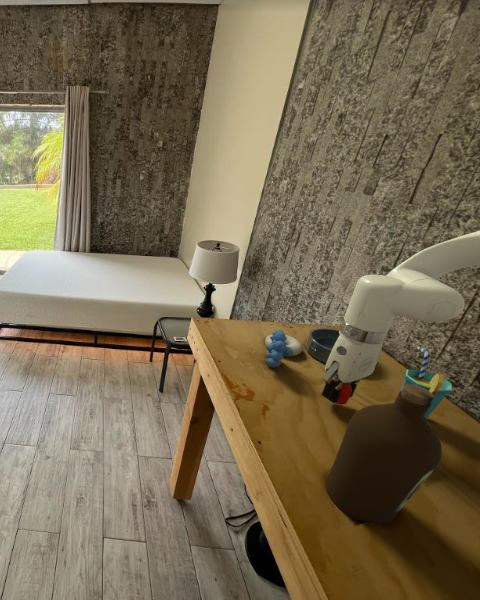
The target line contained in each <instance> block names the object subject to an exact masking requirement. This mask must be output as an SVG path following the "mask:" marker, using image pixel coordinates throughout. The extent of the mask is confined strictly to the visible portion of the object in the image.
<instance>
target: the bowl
mask: <svg viewBox="0 0 480 600" xmlns="http://www.w3.org/2000/svg"><path fill="white" fill-rule="evenodd" d="M339 330H340V329H336V328H328V327H327V328H326V327H323V328H321V327H320V328H315V329H312V330H310V331H309V333H308V335H307V338H306V340H305V344H304V349H305V350H306V351H307V353H308V354H309V355H311V356H312V357H313V358H315V359H316V360H318V361H320V362H322V363H325V364H326V363H327V360H328V358H329V355H330V353H331V351H332V349H333V347H334V345H335V343H336V341H337V339H338V337H339V336H340V334H339Z"/></svg>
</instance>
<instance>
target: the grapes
mask: <svg viewBox="0 0 480 600" xmlns="http://www.w3.org/2000/svg"><path fill="white" fill-rule="evenodd" d="M272 334H273V335H272ZM271 335H272V336H271V337H270V339H271V340H272V343H270V344H269V345H268V346H266V345H265V347H266V350H267V353H266V354H265V357H266V360H265V363H266V365H267V366H268V367H269V368H277V367H279V366H281V362H280V361H282V360H283V359H284V357H291V356H290V355H292V354H293V351H292V349H291V348H290V347H288V346H286V344H285V342H284V341H285V340H286V339H287V338H286V336H285V335H286V333H285V332H284V331H283V330H282V329H277V330H275V331H273V332H272V333H271Z"/></svg>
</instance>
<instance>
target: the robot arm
mask: <svg viewBox="0 0 480 600" xmlns="http://www.w3.org/2000/svg"><path fill="white" fill-rule="evenodd" d="M475 266H480V230H477V231H475V232H471V233H467V234H464V235H459V236H457V237H454V238H452V239H449V240H448V239H447V240H445V241H442V242H439V243H436V244H434V245H431V246H429V247H426V248H424V249H422V250H421V251H418V252H417V253H415V254H413V255H412V256H410V257H408V258H407V259H406V260H404V261H403V262H401V263H400V264H398V265H397V266H396V267H394V268H392V269H391V270H390V271H389V272H388V273H387V274H386V275H382V274H365V275H363V276H361V277H359V278H358V280H357V281H356V284H355V287H354V289H353V292H352V295H351V297H350V301H349V303H348V306H347V309H346V310H345V314H344V317H343V319H342V322H341V325H340V327H339V329H338V330H339V334H340V336H339V337H338V339H337V341H336V343H335V345H334V347H333V349H332V351H331V353H330V355H329V358H328V360H327V363H325V367H324V372H325V373H324V374H323V375H322V377H321V380H322V381H324V386H323V388H322V389H323V390H322V392H321V396H322V397H323V398H325V399H327V400H328V401H329V402H331V403H333V404H336V403H337V401H338V398H339V396H340V393H341V391H342V390H341V389H340V388H341V386H342V384H343V383H349V382H352V383H351V387H352V392H351V394H350V397H349V399H350V398H352V397H353V395H354V393H355V391H356V388H357V386H358V384H359V383H360V381H361V379H364V378H366V377H368V376H370V375H372V374H373V373H374V371H375V368H376V366H377V363H378V361H379V358H380V355H381V352H382V349H383V344H384V343H385V340H386V337H387V335H388V333H389V330H390V329H391V326H392V324H393V322H394V319H395V317H403V318H407V319H412V320H417V321H421V322H428V323H441V322H446V321H449V320H452V319H454V318H456V317H458V316H459V315H460V314H461V313H462V312H463V310H464V309H465V305H466V303H465V299H464V297H463V296H462V295H461V293H460V292H459V291H457V290H456V288H455V289H454V288H453V287H451V286H449V285H447V284H445V283H443V282H441V281H439V280H437V279H439V278H441V277H443V276H445V275H447V274H449V273H453V272H454V271H458V270H461V269H464V268H470V267H475ZM334 377H335V378H337V379H338V380H339V381H338V383H336V381H334V380H333V379H334Z"/></svg>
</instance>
